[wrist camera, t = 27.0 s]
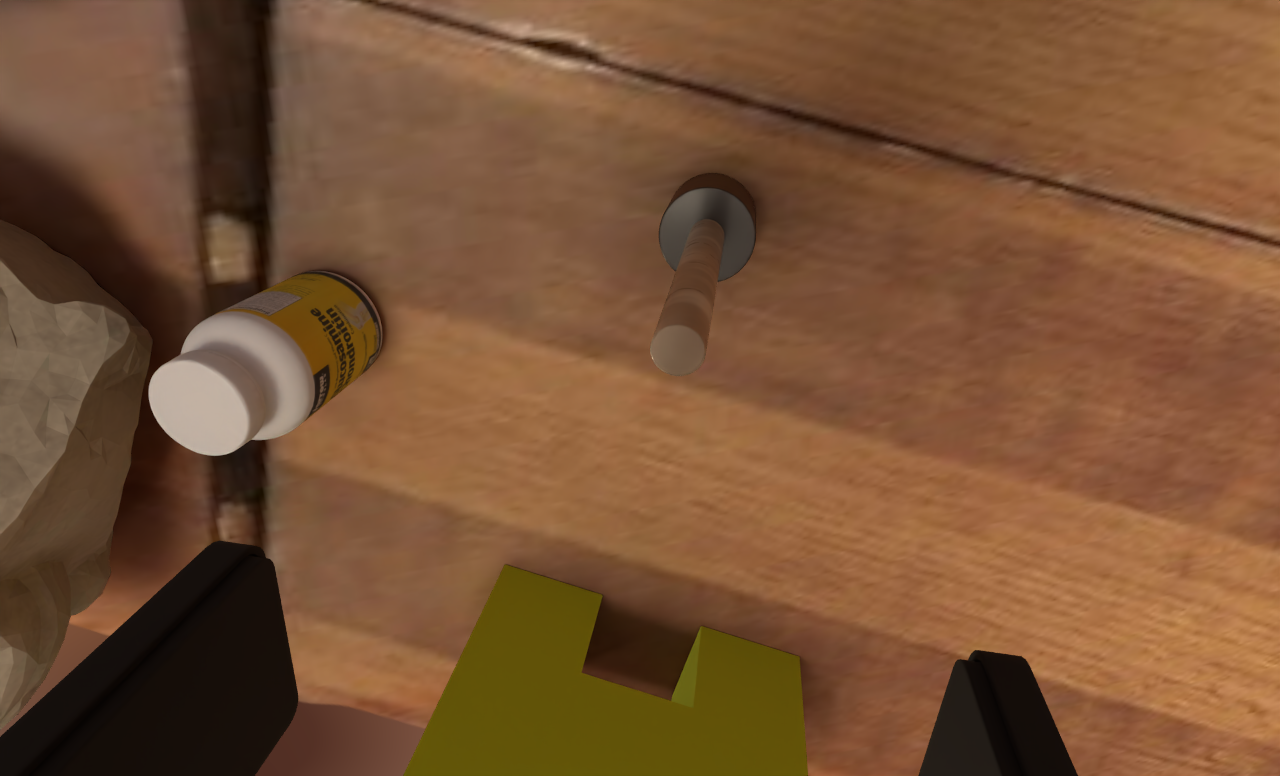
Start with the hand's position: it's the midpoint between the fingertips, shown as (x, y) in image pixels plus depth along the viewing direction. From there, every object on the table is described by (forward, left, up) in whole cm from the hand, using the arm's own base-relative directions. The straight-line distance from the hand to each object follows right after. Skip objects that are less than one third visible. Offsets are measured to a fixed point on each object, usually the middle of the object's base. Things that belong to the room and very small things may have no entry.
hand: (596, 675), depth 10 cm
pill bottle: (+21, +8, -31) cm, 38 cm away
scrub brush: (0, 0, -30) cm, 30 cm away
